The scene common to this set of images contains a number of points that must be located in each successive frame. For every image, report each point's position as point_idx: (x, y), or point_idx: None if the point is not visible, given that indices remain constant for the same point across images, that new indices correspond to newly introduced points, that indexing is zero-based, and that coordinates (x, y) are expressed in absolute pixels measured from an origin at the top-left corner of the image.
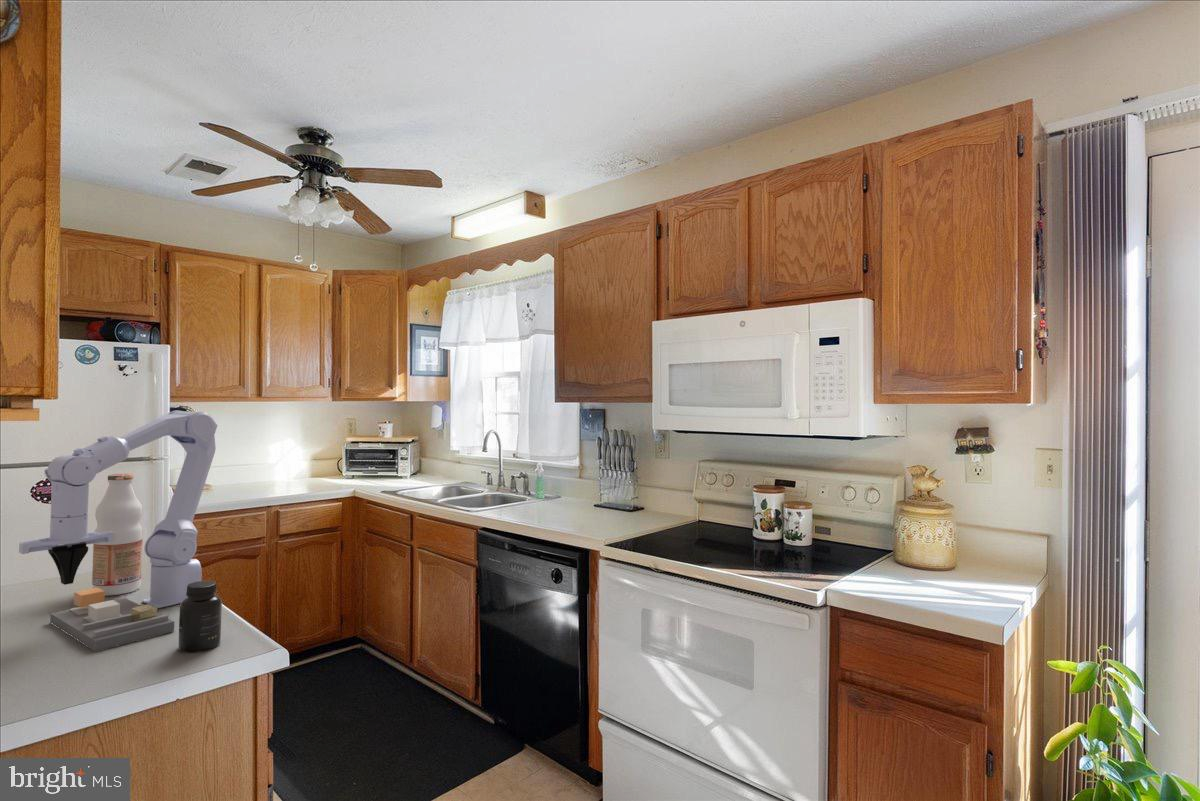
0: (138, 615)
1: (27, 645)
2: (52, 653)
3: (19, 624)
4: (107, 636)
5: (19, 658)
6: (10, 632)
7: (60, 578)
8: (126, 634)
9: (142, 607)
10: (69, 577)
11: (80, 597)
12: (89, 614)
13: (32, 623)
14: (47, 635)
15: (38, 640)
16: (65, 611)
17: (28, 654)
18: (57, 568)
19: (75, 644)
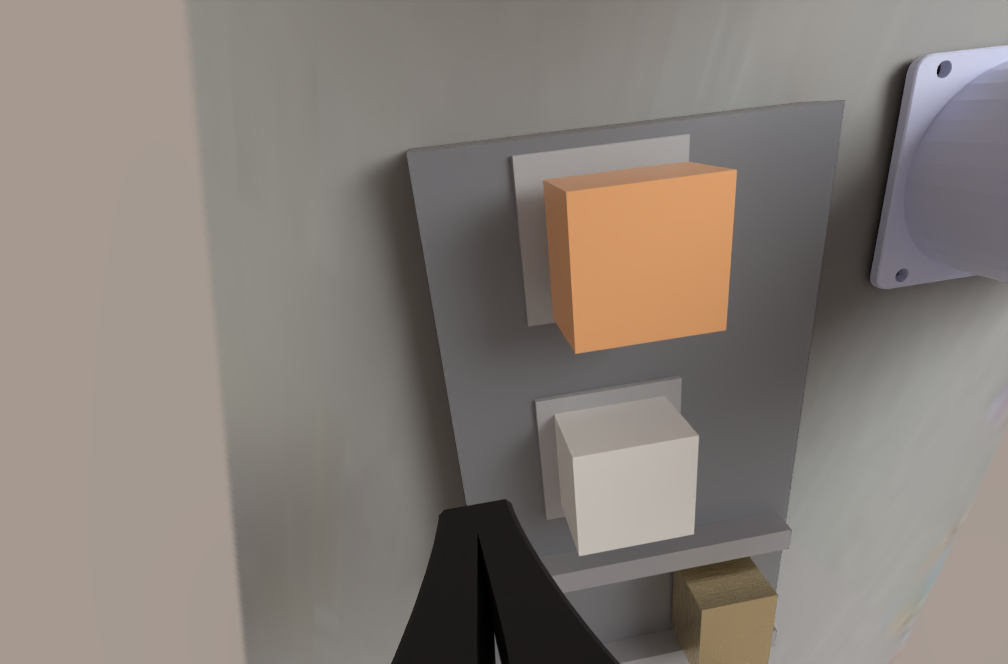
0: (688, 653)
1: (296, 469)
2: (377, 608)
3: (244, 21)
4: None
5: (272, 599)
6: (207, 187)
7: (434, 541)
8: None
9: (736, 627)
10: (494, 657)
11: (569, 327)
12: (559, 441)
13: (318, 64)
14: (378, 378)
15: (339, 428)
16: (488, 173)
17: (301, 576)
18: (399, 645)
19: None
